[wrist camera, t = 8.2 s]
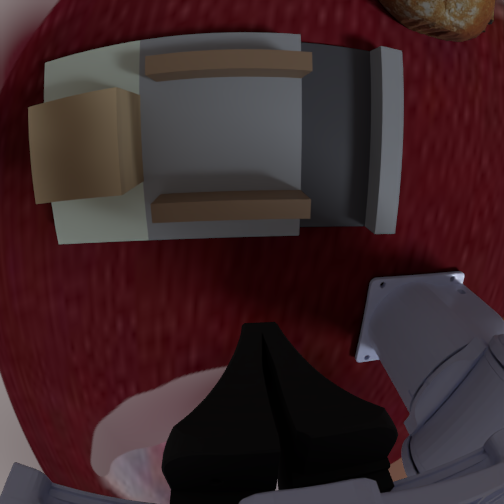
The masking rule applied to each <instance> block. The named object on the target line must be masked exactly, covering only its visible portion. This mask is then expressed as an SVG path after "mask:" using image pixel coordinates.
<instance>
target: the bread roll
mask: <svg viewBox="0 0 504 504" xmlns="http://www.w3.org/2000/svg"><path fill="white" fill-rule="evenodd" d="M379 1H380V3H381V4H382V5H383V7H384V8H385V9H386V10H387V11H388V12H389V13H390V14H391V15H392V16H393V17H394V18H395V19H397V20H398V21H399V22H400V23H401V24H403V25H404V26H406V27H407V28H408V29H411V30H413V31H417V32H419V33H421V34H426V35H428V36H431V37H435V38H438V39H442V40H446V41H456V42H462V41H466V40H470V39H472V38H476V37H477V36H478V35H480V33H482V32H485V28H486V26H487V24H492V22H493V21H494V19H493V15H494V6H495V0H379Z"/></svg>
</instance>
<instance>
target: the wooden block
mask: <svg viewBox="0 0 504 504" xmlns="http://www.w3.org/2000/svg"><path fill="white" fill-rule="evenodd" d="M28 123H29V144H30V158H31V169H32V178H33V186H34V194H35V201H36V204H41V203H49V202H58V201H67V200H76V199H86V198H97V197H108V196H120V195H123V194H125V193H126V192H128V191H129V190H131V189H132V188H134V187H135V186H137V185H139V184H140V183H142V182H143V181H144V176H143V160H142V141H141V110H140V95H138V94H135V93H133V92H130V91H127V90H124V89H121V88H118V87H114V88H108V89H103V90H97V91H92V92H87V93H82V94H78V95H73V96H69V97H65V98H61V99H57V100H53V101H49V102H45V103H42V104H38V105H34V106H31V107H28Z"/></svg>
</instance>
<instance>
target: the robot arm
mask: <svg viewBox="0 0 504 504" xmlns="http://www.w3.org/2000/svg"><path fill="white" fill-rule="evenodd" d="M451 277H452V278H451ZM450 278H451V279H450ZM463 280H464V273H462V272H461V271H455V272H444V273H431V274H419V275H405V276H391V277H376V278H373V279H372V280H371V281H370V283H369V289H368V295H367V301H366V306H365V312H364V317H363V322H362V327H361V332H360V337H359V341H358V346H357V351H356V355H355V359H356V361H357V362H366V361H372V360H379V359H380V361H381V363H382V364H383V366H384V368H385V370H386V371H387V373H388V375H389V377H390V378H391V380H392V382H393V384H394V386H395V387H396V389H397V391H398V393H399V395H400V396H401V398H402V400H403V402H404V404H405V405H406V407H407V409H408V411H409V413H410V415H409V417H408V418H407V419H406V421H405V422H404V424H405V426H406V428H407V430H408V432H409V434H410V435H409V436H408V437H407V438H406V440H405V441H404V443H403V445H402V461H403V465H404V469H405V472H406V475H407V476H408V477H407V478H404V479H401V480H398V481H395V482H393V481H392V478H391V476H390V473H389V471H388V469H389V468H390V463H389V460H388V458H387V456H388V455H389V453H390V451H391V449H392V448H393V446H394V444H395V442H396V440H397V437H398V432H397V429H396V427H395V425H394V423H393V421H392V419H391V418H390V416H389V415H388V413H387V412H386V410H385V408H383V407H380V406H378V405H375V404H372V403H370V402H367V401H365V400H363V399H360V398H358V397H356V396H354V395H352V394H350V393H349V392H347V391H345V390H343V389H342V388H340V387H339V386H337V385H335V384H334V383H332V382H331V381H329V380H328V379H327V378H325V377H324V376H323V375H322V374H320V373H319V372H318V371H317V370H316V369H314V368H313V367H312V366H311V365H310V364H309V363H308V362H307V361H306V360H305V359H304V358H303V357H302V356H301V355H300V354H299V353H298V351H297V350H296V349H295V348H294V347H293V346H292V344H291V343H290V342H289V341H288V339H287V338H286V337H285V335H284V334H283V332H282V331H281V330H280V328H279V326H278V325H277V324H276V323H275V322H264V323H244V324H243V325H242V330H241V335H240V339H239V342H238V345H237V347H236V350H235V352H234V355H233V357H232V359H231V361H230V363H229V365H228V366H227V368H226V370H225V372H224V373H223V375H222V377H221V378H220V380H219V381H218V383H217V384H216V385H215V387H214V388H213V389H212V391H211V392H210V393H209V394H208V395H207V397H206V398H205V399H204V400H203V401H202V402H201V403H200V404H199V405H198V406H197V407H196V408H195V409H194V410H193V411H192V412H191V413H190V414H189V415H188V416H186V417H185V418H184V419H183V420H181V421H180V422H179V423H178V424H176V425H175V426H174V427H173V429H172V431H171V433H170V435H169V438H168V440H167V443H166V446H165V449H164V453H163V460H162V472H163V474H164V476H165V478H166V480H167V482H168V484H169V486H170V488H171V496H170V504H504V321H503V319H502V318H501V317H500V316H499V315H498V314H497V313H496V312H495V311H494V310H493V309H492V308H491V307H489V306H488V305H487V304H486V303H485V302H484V301H482V300H481V299H480V298H479V297H478V296H477V295H475V294H474V293H473V292H472V291H471V290H469V289H468V288H467V287H466V286H464V285H463ZM382 282H384V283H383V285H382V286H380V284H381V283H382ZM367 355H368V356H367ZM365 356H366V357H365ZM277 479H278V489H279V490H277V491H275V489H276V484H277ZM0 504H155V503H146V502H139V501H132V500H125V499H119V498H114V497H108V496H103V495H98V494H94V493H89V492H85V491H81V490H77V489H73V488H69V487H65V486H62V485H58V484H55V483H52V482H51V481H50V479H49V478H48V477H47V476H46V475H45V474H44V473H42V472H41V471H39V470H36V469H34V468H31V467H28V466H25V465H22V464H20V463H17V462H15V463H14V464H13V466H12V469H11V471H10V474H9V476H8V478H7V481H6V483H5V486H4V489H3V491H2V494H1V496H0Z"/></svg>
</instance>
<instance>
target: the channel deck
mask: <svg viewBox="0 0 504 504" xmlns="http://www.w3.org/2000/svg"><path fill="white" fill-rule="evenodd" d="M114 87H118V88H121V89H124V90H127V91H130V92H133V93H135V94H138V95H140V110H141V141H142V160H143V176H144V181H143V182H142V183H140V184H139V185H137V186H135V187H134V188H132V189H131V190H129V191H128V192H126V193H125V194H123V195H120V196H108V197H97V198H86V199H76V200H67V201H58V202H51V203H52V209H53V216H54V222H55V228H56V233H57V238H58V243H59V244H74V243H95V242H117V241H141V240H166V239H194V238H225V237H259V236H298V235H299V227H328V226H365V227H367V228H368V229H369V230H370V231H372V232H373V233H374V234H395V227H396V219H397V211H398V201H399V191H400V179H401V165H402V148H403V112H404V97H403V62H402V51H400V50H396V49H392V48H387V47H382V46H380V47H378V48H376V49H374V50H372V51H365V50H359V49H353V48H346V47H339V46H331V45H322V44H313V43H301V35H299V34H284V33H258V32H230V33H205V34H190V35H179V36H169V37H161V38H153V39H146V40H139V41H133V42H128V43H122V44H117V45H112V46H107V47H102V48H98V49H93V50H89V51H85V52H81V53H77V54H73V55H70V56H66V57H63V58H59V59H56V60H52V61H49V62H46V63H45V75H44V103H45V102H49V101H53V100H57V99H61V98H65V97H69V96H73V95H78V94H82V93H87V92H92V91H97V90H103V89H108V88H114Z"/></svg>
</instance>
